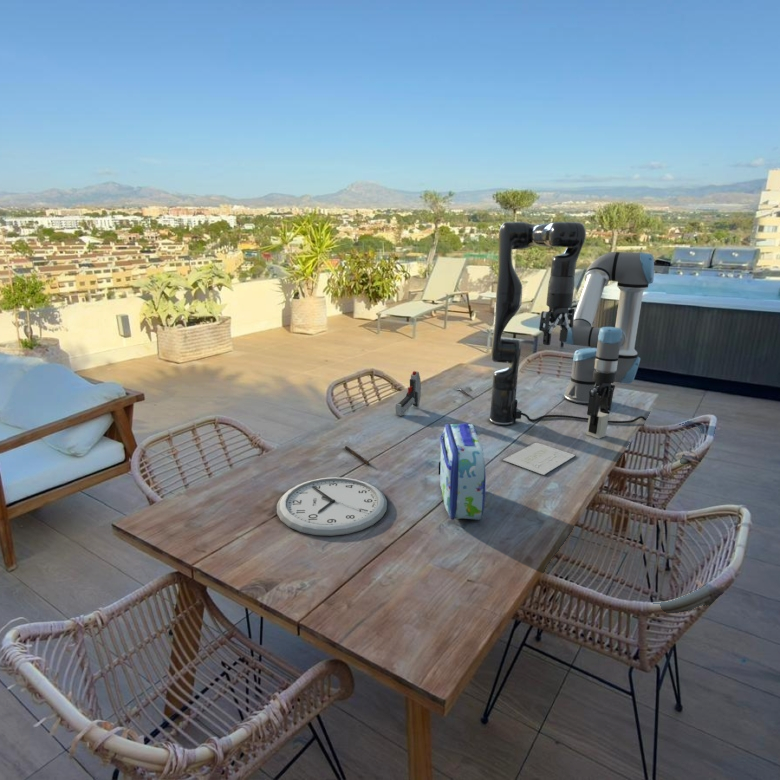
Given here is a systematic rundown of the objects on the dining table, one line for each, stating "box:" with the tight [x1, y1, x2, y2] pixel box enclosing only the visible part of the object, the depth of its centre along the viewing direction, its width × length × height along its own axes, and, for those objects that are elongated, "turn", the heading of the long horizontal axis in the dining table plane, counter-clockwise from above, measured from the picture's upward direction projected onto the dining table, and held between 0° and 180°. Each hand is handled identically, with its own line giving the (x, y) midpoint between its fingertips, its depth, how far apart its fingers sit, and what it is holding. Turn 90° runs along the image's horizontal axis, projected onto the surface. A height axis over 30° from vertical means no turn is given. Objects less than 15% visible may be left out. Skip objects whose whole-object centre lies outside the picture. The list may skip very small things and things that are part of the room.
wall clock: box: [276, 476, 388, 537], centre depth 142 cm, size 30×2×30 cm
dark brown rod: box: [344, 445, 370, 465], centre depth 173 cm, size 15×1×1 cm, turn 34°
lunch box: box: [438, 422, 486, 521], centre depth 142 cm, size 26×11×21 cm, turn 179°
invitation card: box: [502, 442, 577, 476], centre depth 174 cm, size 21×1×15 cm
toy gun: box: [395, 370, 422, 417], centre depth 214 cm, size 2×16×15 cm
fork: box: [453, 383, 470, 397], centre depth 242 cm, size 3×16×2 cm, turn 16°
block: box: [585, 411, 610, 440], centre depth 194 cm, size 4×5×9 cm
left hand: (554, 343), depth 164 cm, fingers open, 8 cm apart
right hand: (596, 430), depth 195 cm, fingers closed on block, 4 cm apart
